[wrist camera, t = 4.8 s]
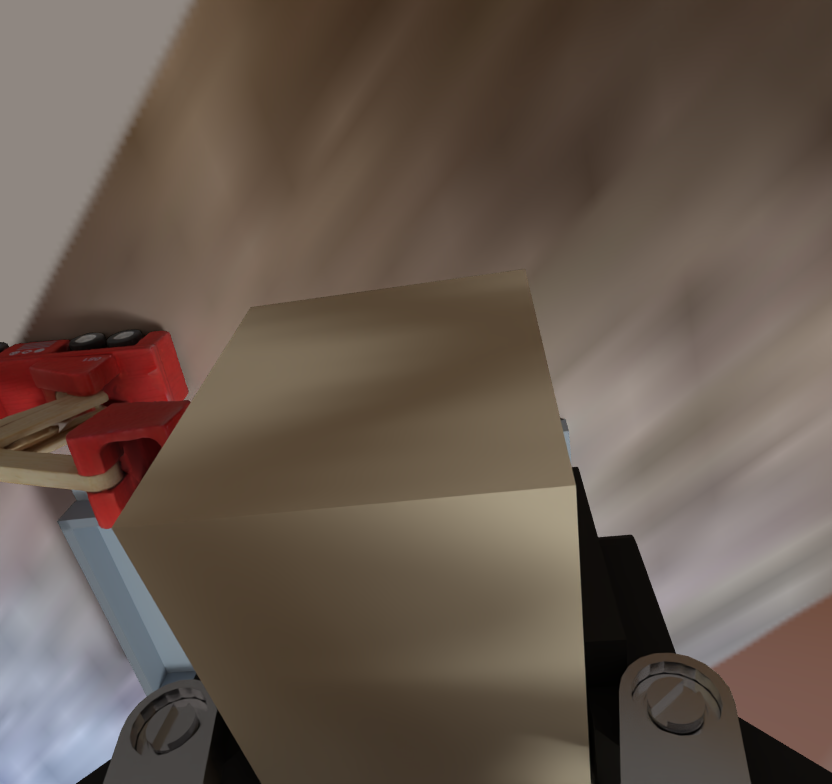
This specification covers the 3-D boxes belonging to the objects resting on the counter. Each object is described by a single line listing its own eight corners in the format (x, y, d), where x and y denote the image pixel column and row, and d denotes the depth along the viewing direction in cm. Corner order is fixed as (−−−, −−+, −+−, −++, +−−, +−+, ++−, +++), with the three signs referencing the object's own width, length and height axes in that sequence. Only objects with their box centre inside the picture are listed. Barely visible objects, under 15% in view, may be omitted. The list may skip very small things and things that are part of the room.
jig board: (565, 419, 28) (578, 463, 24) (582, 642, 33) (594, 701, 30) (79, 473, 31) (35, 519, 28) (171, 669, 36) (144, 725, 33)
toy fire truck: (-42, 343, 28) (-268, 463, 19) (258, 316, 26) (159, 433, 18) (-11, 410, 29) (-208, 549, 21) (275, 388, 28) (191, 528, 19)
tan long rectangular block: (524, 269, 9) (576, 485, 5) (561, 691, 14) (598, 951, 10) (250, 306, 9) (110, 527, 6) (384, 699, 15) (359, 949, 11)
